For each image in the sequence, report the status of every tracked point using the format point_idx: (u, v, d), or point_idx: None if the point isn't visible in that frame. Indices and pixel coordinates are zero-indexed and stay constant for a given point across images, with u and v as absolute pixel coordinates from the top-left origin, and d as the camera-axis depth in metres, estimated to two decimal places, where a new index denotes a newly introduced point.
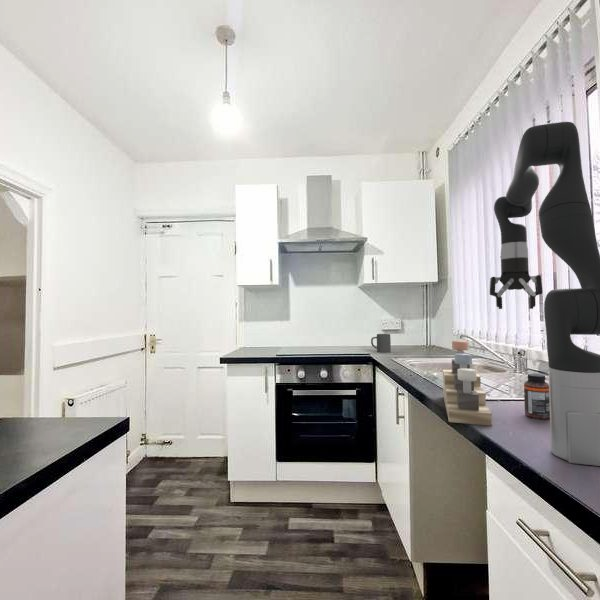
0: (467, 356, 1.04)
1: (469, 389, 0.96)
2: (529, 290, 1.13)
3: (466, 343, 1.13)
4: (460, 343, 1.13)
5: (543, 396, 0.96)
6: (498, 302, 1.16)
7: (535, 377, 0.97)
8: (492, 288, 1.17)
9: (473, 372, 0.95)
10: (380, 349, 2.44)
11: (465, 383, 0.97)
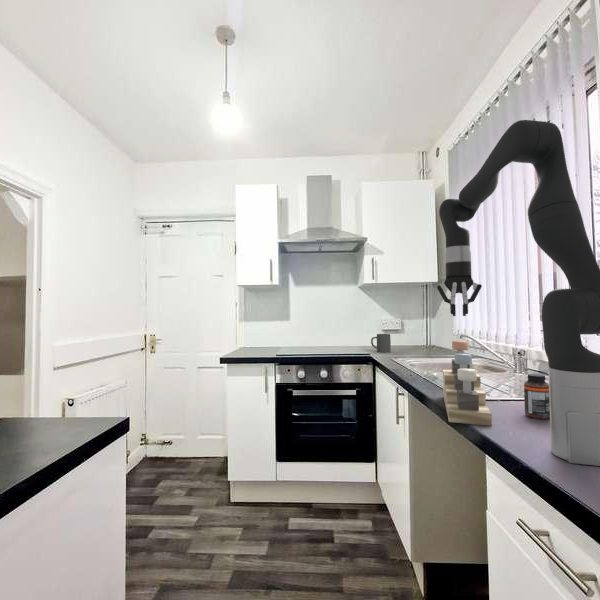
0: (467, 356, 1.04)
1: (469, 389, 0.96)
2: (464, 296, 1.14)
3: (466, 343, 1.13)
4: (460, 343, 1.13)
5: (543, 396, 0.96)
6: (452, 309, 1.16)
7: (535, 377, 0.97)
8: (443, 296, 1.16)
9: (473, 372, 0.95)
10: (380, 349, 2.44)
11: (465, 383, 0.97)
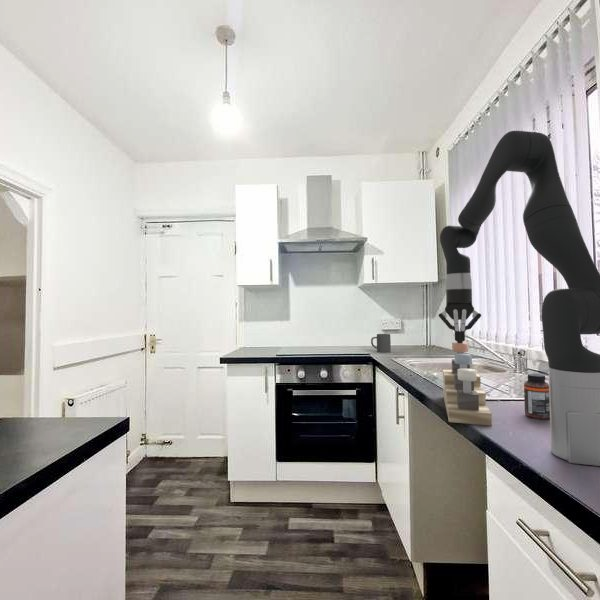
0: (467, 356, 1.04)
1: (469, 389, 0.96)
2: (462, 324, 1.14)
3: (466, 345, 1.13)
4: (460, 345, 1.13)
5: (543, 396, 0.96)
6: (456, 336, 1.15)
7: (535, 377, 0.97)
8: (447, 323, 1.15)
9: (473, 372, 0.95)
10: (380, 349, 2.44)
11: (465, 383, 0.97)
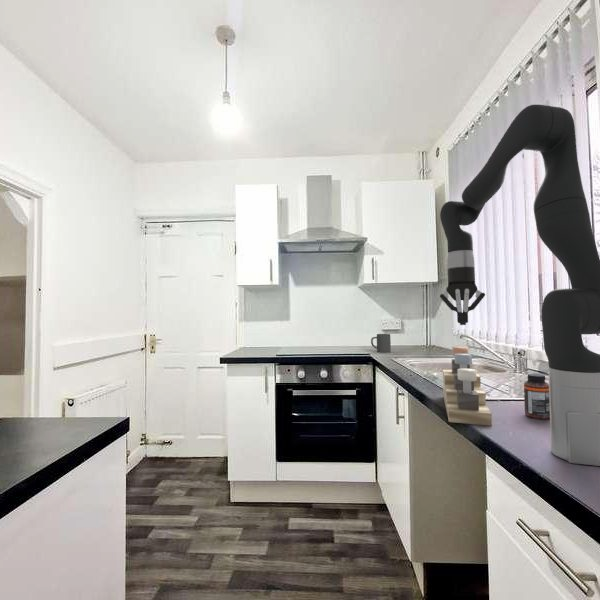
0: (467, 356, 1.04)
1: (469, 389, 0.96)
2: (465, 304, 1.07)
3: (466, 349, 1.13)
4: (460, 349, 1.13)
5: (543, 396, 0.96)
6: (459, 318, 1.08)
7: (535, 377, 0.97)
8: (448, 304, 1.09)
9: (473, 372, 0.95)
10: (380, 349, 2.44)
11: (465, 383, 0.97)
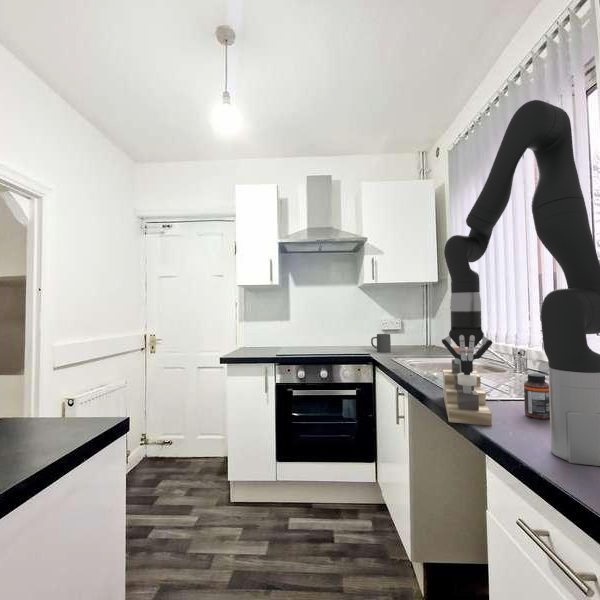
0: None
1: None
2: (470, 352, 0.96)
3: (466, 349, 1.13)
4: None
5: (543, 396, 0.96)
6: (462, 366, 0.97)
7: (535, 377, 0.97)
8: (451, 351, 0.98)
9: (473, 377, 0.95)
10: (380, 349, 2.44)
11: (465, 388, 0.97)
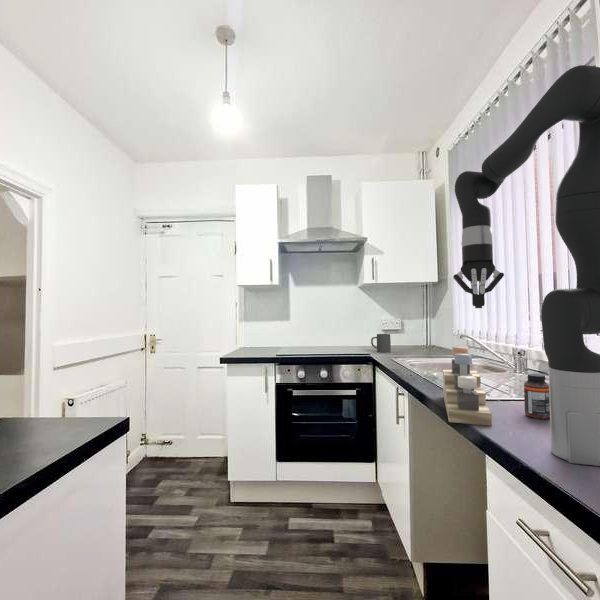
0: (467, 356, 1.04)
1: None
2: (482, 285, 0.98)
3: (466, 349, 1.13)
4: (460, 349, 1.13)
5: (543, 396, 0.96)
6: (474, 300, 0.99)
7: (535, 377, 0.97)
8: (463, 285, 0.99)
9: (473, 380, 0.95)
10: (380, 349, 2.44)
11: (465, 390, 0.97)
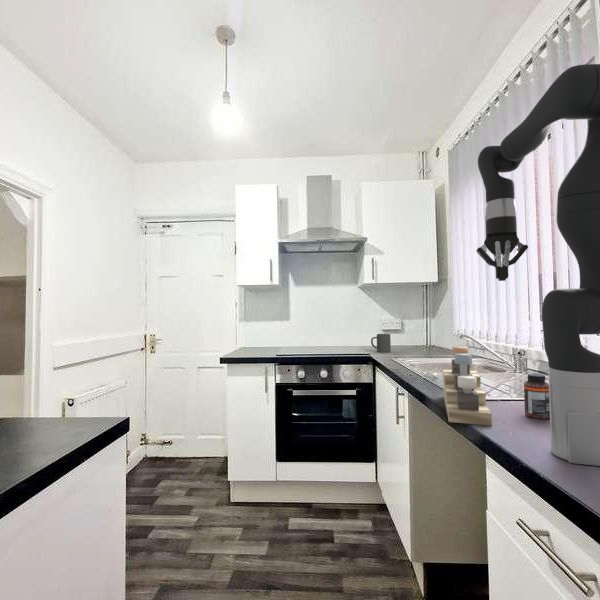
0: (467, 356, 1.04)
1: None
2: (506, 257, 0.99)
3: (466, 349, 1.13)
4: (460, 349, 1.13)
5: (543, 396, 0.96)
6: (498, 273, 1.00)
7: (535, 377, 0.97)
8: (487, 258, 1.00)
9: (473, 380, 0.95)
10: (380, 349, 2.44)
11: (465, 390, 0.97)
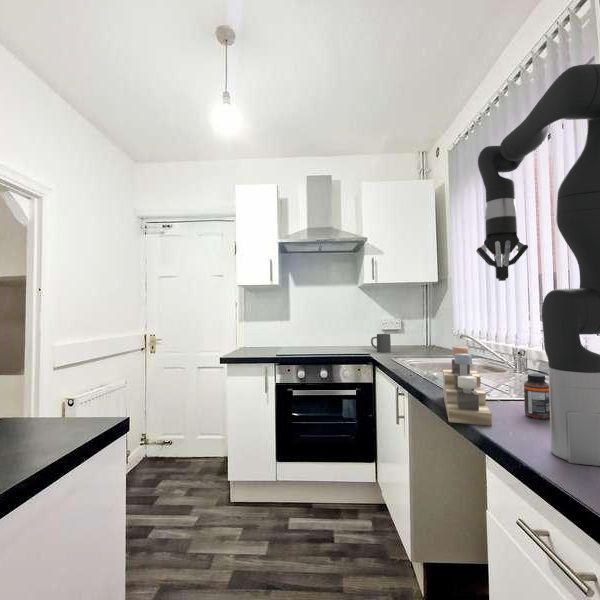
0: (467, 356, 1.04)
1: None
2: (506, 257, 0.99)
3: (466, 349, 1.13)
4: (460, 349, 1.13)
5: (543, 396, 0.96)
6: (498, 273, 1.00)
7: (535, 377, 0.97)
8: (487, 258, 1.00)
9: (473, 380, 0.95)
10: (380, 349, 2.44)
11: (465, 390, 0.97)
